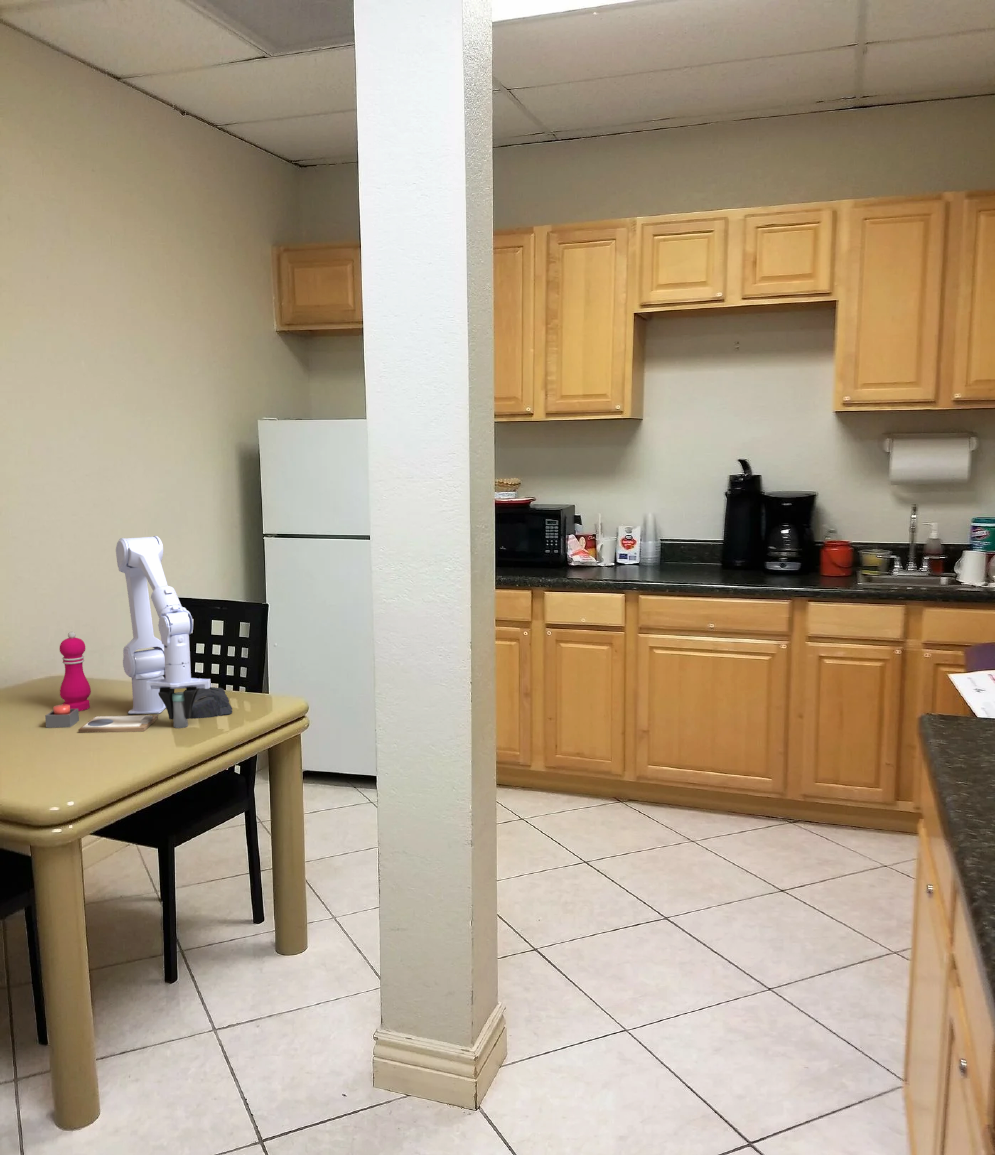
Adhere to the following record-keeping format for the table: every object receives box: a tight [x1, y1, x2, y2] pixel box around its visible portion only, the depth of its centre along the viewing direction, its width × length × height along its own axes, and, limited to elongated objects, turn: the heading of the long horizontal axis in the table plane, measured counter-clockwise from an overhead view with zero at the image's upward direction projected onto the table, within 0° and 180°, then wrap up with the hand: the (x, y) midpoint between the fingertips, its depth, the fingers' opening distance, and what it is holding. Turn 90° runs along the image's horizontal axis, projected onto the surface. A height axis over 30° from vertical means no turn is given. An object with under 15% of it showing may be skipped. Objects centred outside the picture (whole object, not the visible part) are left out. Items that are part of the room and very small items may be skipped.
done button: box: [52, 703, 70, 715], centre depth 225 cm, size 4×4×2 cm
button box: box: [45, 709, 80, 729], centre depth 225 cm, size 6×6×3 cm
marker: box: [172, 691, 189, 729], centre depth 223 cm, size 3×3×8 cm
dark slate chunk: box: [188, 686, 233, 720], centre depth 240 cm, size 15×22×5 cm
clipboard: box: [78, 714, 159, 734], centre depth 224 cm, size 11×15×2 cm
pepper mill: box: [59, 631, 92, 712], centre depth 238 cm, size 7×7×20 cm
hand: (180, 718), depth 223 cm, fingers closed on marker, 3 cm apart
